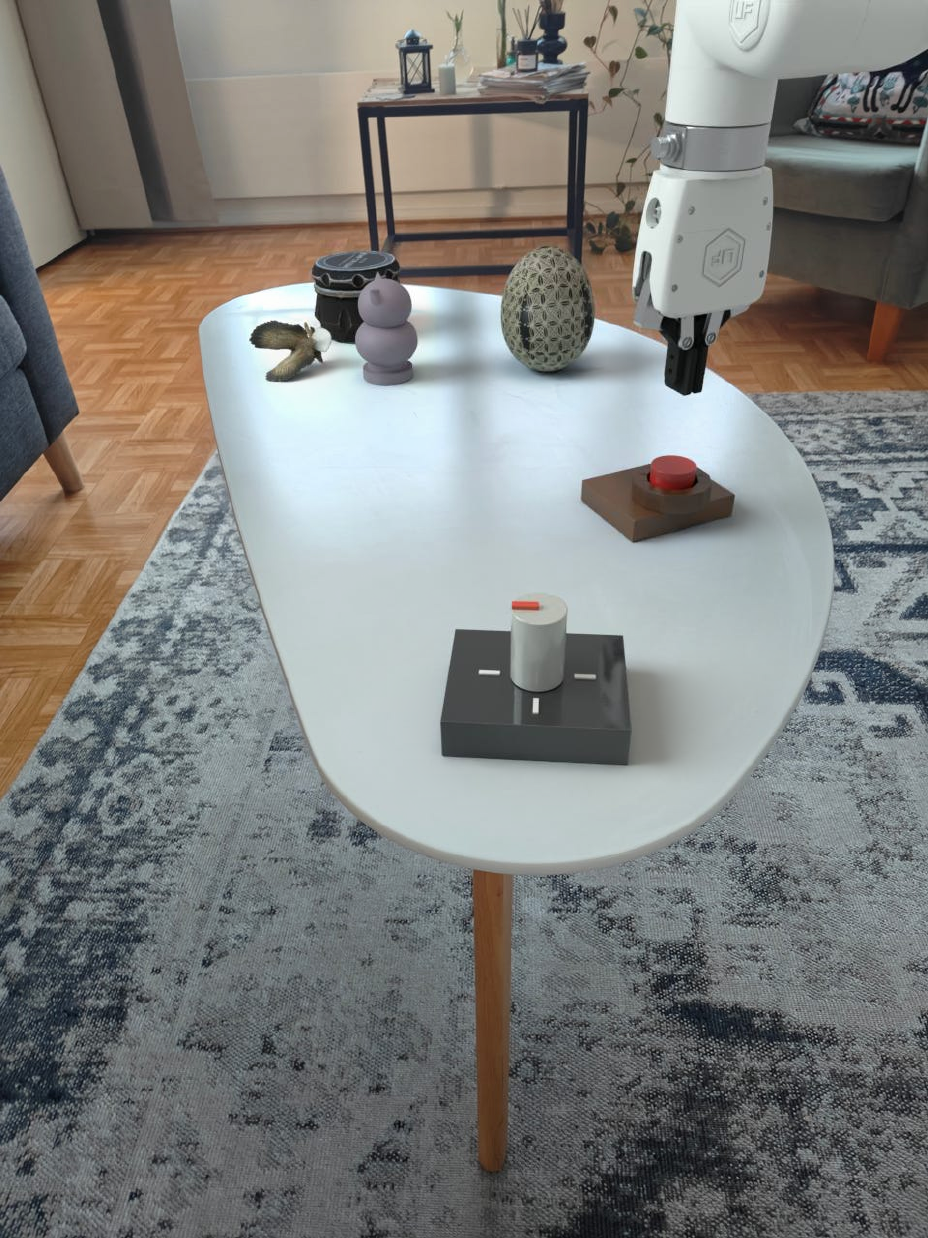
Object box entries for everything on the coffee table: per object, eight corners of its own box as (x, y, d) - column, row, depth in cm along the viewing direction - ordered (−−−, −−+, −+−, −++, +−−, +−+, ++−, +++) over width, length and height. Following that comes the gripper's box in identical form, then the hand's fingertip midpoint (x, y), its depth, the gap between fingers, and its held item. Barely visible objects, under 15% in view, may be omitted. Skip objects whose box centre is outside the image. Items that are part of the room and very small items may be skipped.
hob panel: (619, 668, 66) (623, 633, 64) (627, 765, 58) (632, 728, 56) (456, 661, 67) (455, 626, 65) (441, 756, 59) (439, 719, 57)
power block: (674, 476, 91) (679, 439, 88) (738, 520, 83) (745, 480, 81) (580, 500, 87) (582, 462, 85) (638, 547, 79) (642, 507, 77)
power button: (676, 468, 84) (679, 451, 83) (703, 486, 81) (705, 468, 80) (640, 477, 83) (642, 460, 82) (666, 495, 80) (668, 478, 79)
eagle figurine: (294, 344, 122) (240, 349, 116) (314, 303, 118) (259, 307, 111) (325, 386, 121) (272, 393, 114) (347, 346, 116) (292, 351, 110)
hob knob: (563, 659, 62) (567, 588, 58) (564, 693, 59) (568, 621, 55) (510, 658, 62) (511, 587, 59) (509, 691, 59) (510, 619, 56)
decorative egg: (566, 391, 110) (572, 263, 101) (483, 375, 115) (482, 251, 106) (606, 362, 118) (614, 241, 109) (527, 348, 123) (529, 231, 114)
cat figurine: (417, 388, 112) (412, 289, 105) (354, 389, 112) (345, 289, 105) (421, 364, 119) (417, 269, 112) (362, 364, 119) (354, 270, 112)
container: (314, 321, 135) (306, 251, 129) (400, 314, 136) (395, 245, 131) (319, 349, 124) (310, 274, 119) (411, 341, 126) (407, 267, 120)
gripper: (658, 165, 61) (633, 421, 72) (828, 147, 66) (781, 388, 77) (599, 150, 66) (584, 389, 77) (760, 134, 71) (725, 361, 82)
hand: (682, 388), depth 77 cm, fingers closed
